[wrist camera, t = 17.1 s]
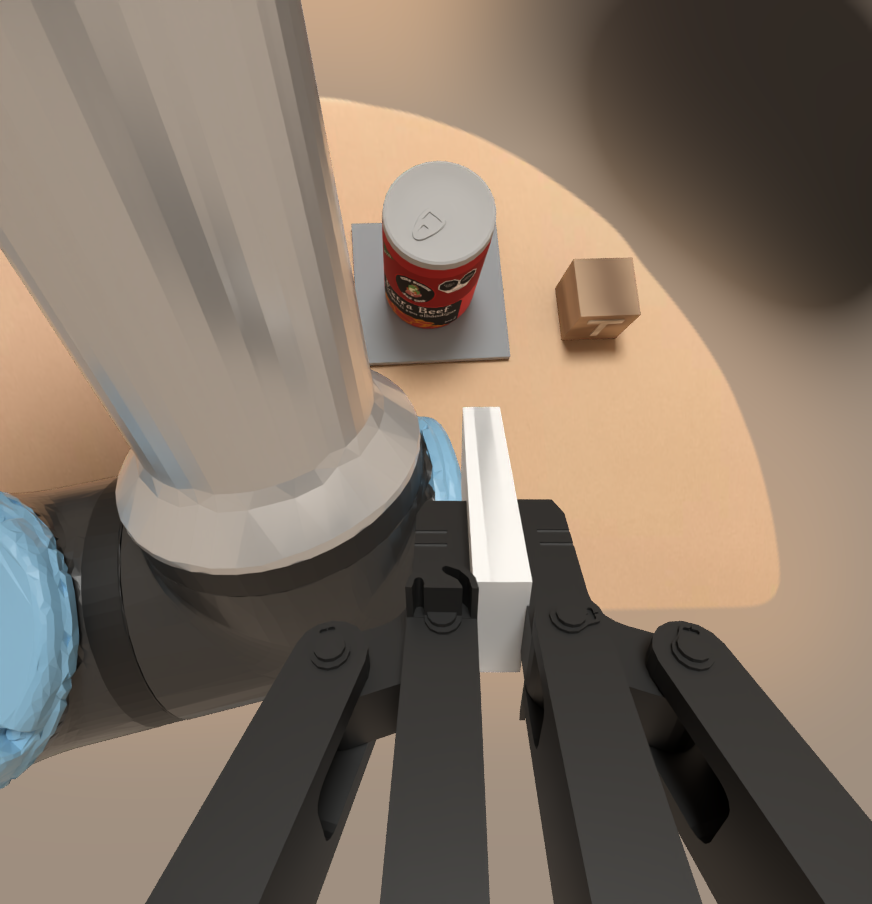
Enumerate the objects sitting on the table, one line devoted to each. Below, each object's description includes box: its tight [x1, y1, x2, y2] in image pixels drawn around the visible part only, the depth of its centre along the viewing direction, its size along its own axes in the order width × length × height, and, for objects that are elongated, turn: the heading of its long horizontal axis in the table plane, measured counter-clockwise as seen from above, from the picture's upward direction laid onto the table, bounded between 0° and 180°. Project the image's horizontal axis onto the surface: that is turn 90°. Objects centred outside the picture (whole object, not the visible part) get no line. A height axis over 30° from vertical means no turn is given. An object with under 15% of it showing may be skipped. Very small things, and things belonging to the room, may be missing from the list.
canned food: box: [382, 161, 496, 329], centre depth 40 cm, size 8×8×11 cm
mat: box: [352, 222, 510, 366], centre depth 46 cm, size 13×13×1 cm
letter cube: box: [555, 258, 641, 340], centre depth 45 cm, size 5×5×5 cm
